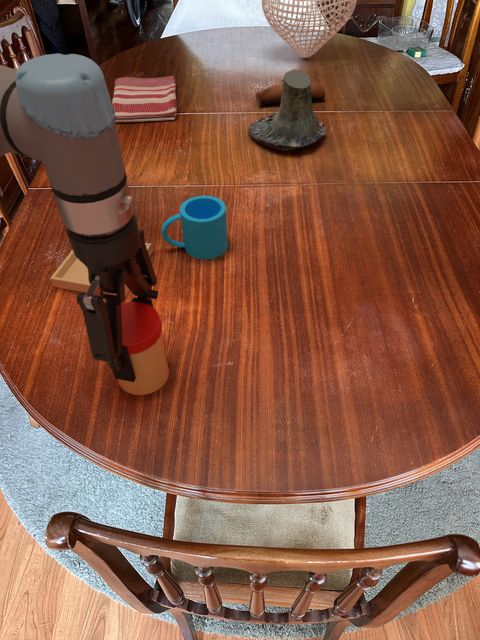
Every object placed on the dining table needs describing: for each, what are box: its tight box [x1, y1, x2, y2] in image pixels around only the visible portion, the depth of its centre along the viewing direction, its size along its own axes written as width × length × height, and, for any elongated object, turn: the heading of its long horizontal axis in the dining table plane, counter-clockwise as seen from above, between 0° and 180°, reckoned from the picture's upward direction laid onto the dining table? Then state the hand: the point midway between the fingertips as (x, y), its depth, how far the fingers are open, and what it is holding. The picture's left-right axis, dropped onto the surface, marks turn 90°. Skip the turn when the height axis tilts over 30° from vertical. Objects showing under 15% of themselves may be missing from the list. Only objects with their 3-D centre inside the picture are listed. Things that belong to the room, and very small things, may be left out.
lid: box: [121, 301, 163, 355], centre depth 68 cm, size 8×8×2 cm
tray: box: [49, 242, 153, 298], centre depth 91 cm, size 13×13×2 cm
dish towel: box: [111, 75, 178, 124], centre depth 135 cm, size 17×23×3 cm
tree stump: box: [248, 69, 327, 152], centre depth 119 cm, size 18×20×18 cm
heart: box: [261, 0, 357, 58], centre depth 150 cm, size 28×16×22 cm, turn 102°
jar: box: [116, 334, 170, 396], centre depth 72 cm, size 8×8×10 cm
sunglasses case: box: [255, 82, 326, 107], centre depth 137 cm, size 18×7×7 cm
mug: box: [161, 195, 229, 260], centre depth 93 cm, size 12×8×8 cm
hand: (137, 354), depth 72 cm, fingers closed on lid, 8 cm apart
